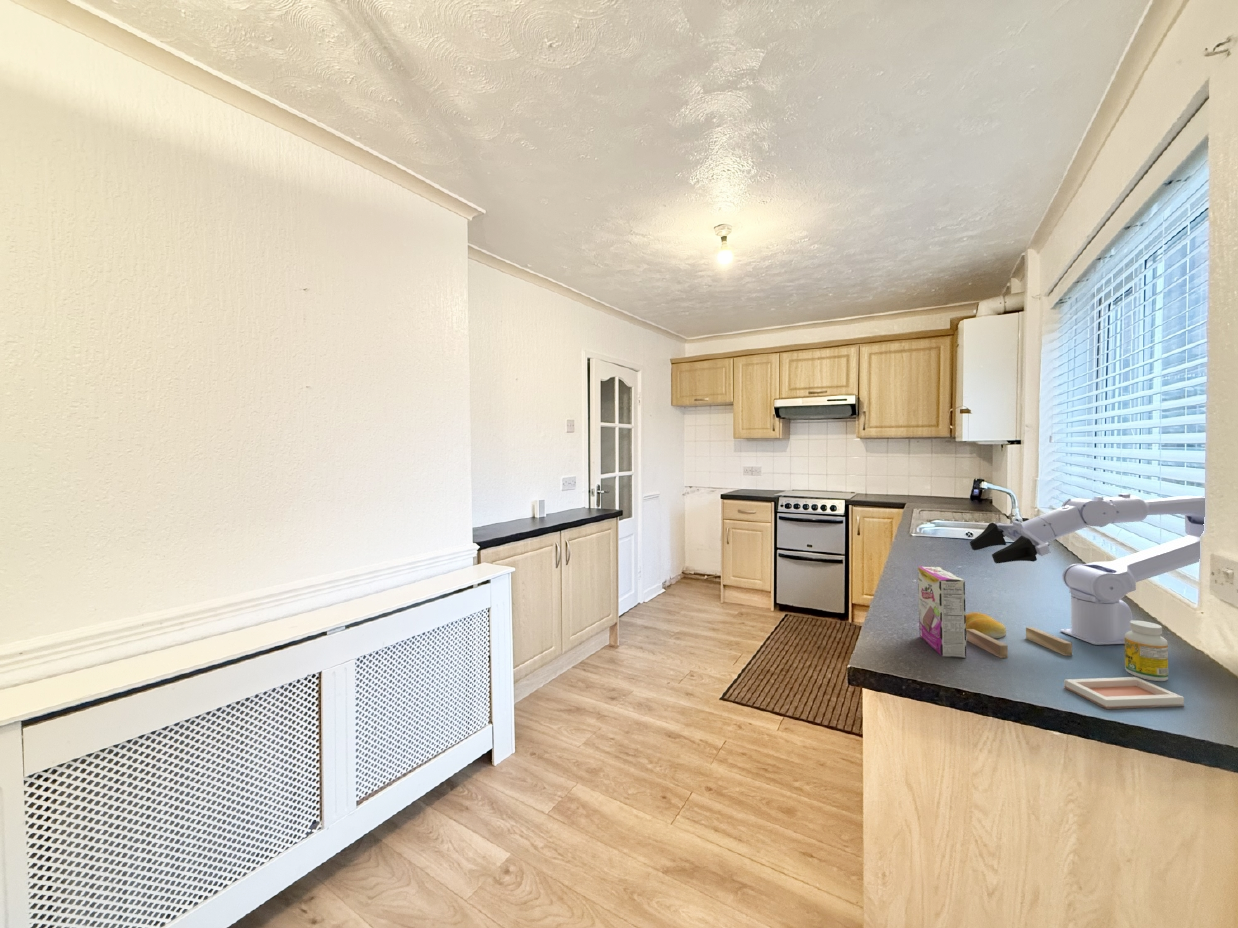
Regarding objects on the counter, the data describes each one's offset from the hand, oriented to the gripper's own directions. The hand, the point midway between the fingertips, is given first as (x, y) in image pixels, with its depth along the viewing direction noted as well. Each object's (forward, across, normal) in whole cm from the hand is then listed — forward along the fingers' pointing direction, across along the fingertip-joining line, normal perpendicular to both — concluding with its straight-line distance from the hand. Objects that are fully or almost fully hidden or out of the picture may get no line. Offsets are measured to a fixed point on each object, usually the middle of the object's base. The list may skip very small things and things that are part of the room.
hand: (982, 552), depth 108 cm
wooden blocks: (+5, +11, +16) cm, 20 cm away
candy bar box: (+20, +11, +10) cm, 25 cm away
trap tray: (+2, +31, +14) cm, 34 cm away
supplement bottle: (-8, +23, +20) cm, 32 cm away
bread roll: (+7, +2, +18) cm, 20 cm away
